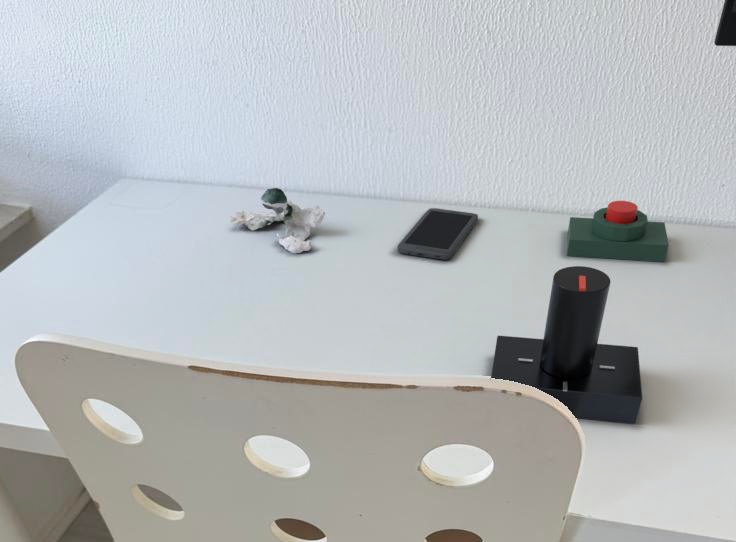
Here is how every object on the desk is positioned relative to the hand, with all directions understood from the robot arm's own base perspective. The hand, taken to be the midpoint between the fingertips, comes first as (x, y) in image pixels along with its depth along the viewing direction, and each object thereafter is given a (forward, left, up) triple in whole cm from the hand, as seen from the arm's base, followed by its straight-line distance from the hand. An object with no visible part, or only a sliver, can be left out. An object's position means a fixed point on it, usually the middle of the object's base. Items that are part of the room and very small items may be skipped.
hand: (727, 44), depth 86 cm
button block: (+8, +4, -22) cm, 24 cm away
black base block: (+14, +38, -22) cm, 46 cm away
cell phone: (+31, +4, -22) cm, 38 cm away
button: (+8, +4, -19) cm, 21 cm away
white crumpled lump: (+53, +6, -23) cm, 58 cm away
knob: (+14, +38, -19) cm, 45 cm away
